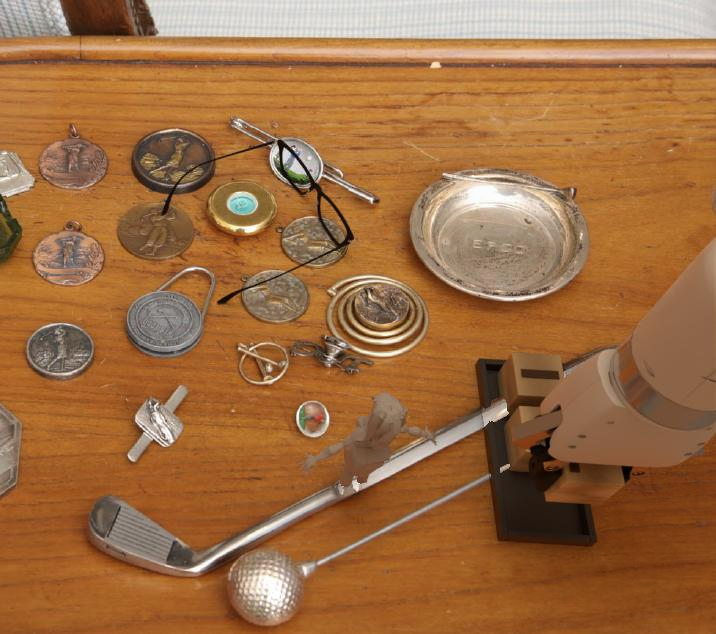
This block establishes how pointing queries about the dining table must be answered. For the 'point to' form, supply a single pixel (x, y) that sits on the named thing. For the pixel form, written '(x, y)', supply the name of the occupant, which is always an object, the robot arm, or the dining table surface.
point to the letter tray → (525, 486)
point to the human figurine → (370, 440)
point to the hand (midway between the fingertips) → (570, 475)
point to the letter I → (528, 379)
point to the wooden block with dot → (515, 454)
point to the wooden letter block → (586, 483)
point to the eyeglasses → (314, 185)
